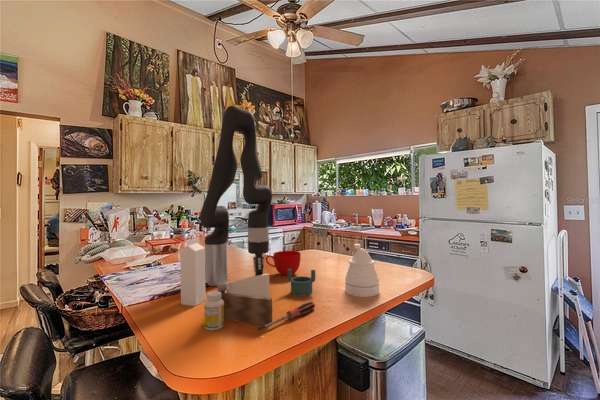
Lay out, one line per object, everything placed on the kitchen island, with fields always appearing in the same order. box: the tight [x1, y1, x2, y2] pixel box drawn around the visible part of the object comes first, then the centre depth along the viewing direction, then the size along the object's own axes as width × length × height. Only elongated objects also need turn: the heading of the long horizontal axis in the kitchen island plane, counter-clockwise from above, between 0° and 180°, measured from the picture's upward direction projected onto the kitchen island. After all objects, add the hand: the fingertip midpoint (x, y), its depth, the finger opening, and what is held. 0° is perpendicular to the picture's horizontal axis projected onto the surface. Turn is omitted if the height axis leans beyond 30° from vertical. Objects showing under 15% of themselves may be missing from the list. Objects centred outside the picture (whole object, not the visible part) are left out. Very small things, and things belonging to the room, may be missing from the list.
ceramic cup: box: [265, 250, 302, 277], centre depth 139 cm, size 13×17×10 cm
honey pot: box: [344, 243, 380, 298], centre depth 113 cm, size 13×13×18 cm
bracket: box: [287, 269, 316, 297], centre depth 113 cm, size 9×9×9 cm
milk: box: [179, 238, 207, 307], centre depth 103 cm, size 6×6×22 cm
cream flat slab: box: [216, 272, 271, 298], centre depth 97 cm, size 19×3×9 cm, turn 133°
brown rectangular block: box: [219, 291, 273, 326], centre depth 88 cm, size 19×4×8 cm, turn 71°
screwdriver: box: [255, 301, 316, 332], centre depth 87 cm, size 25×3×3 cm, turn 139°
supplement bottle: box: [203, 290, 225, 332], centre depth 83 cm, size 5×5×10 cm
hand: (259, 286), depth 107 cm, fingers closed
